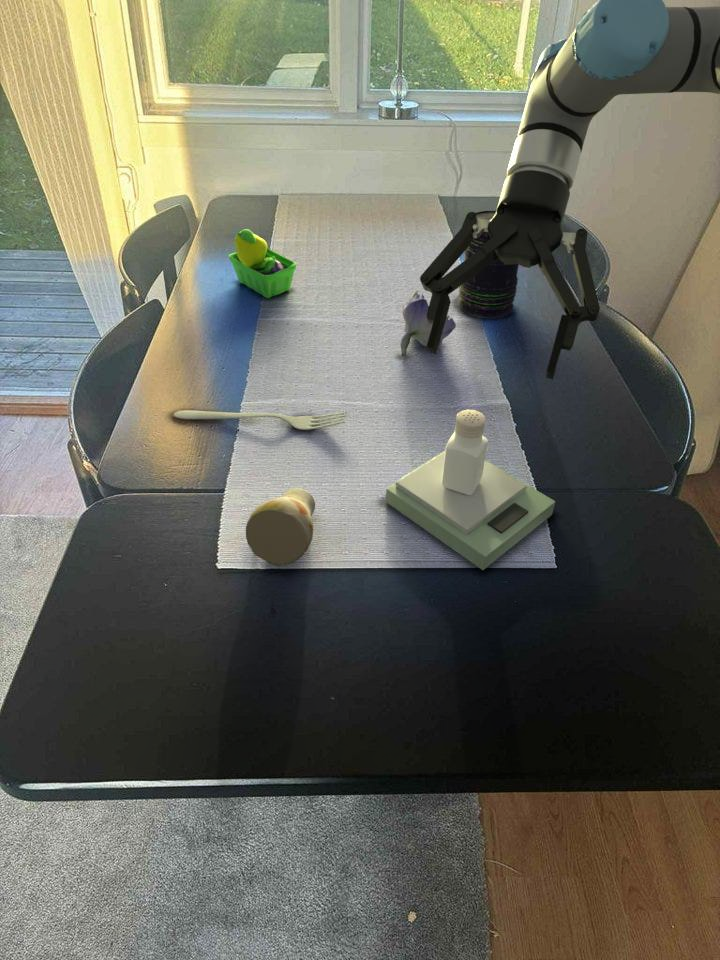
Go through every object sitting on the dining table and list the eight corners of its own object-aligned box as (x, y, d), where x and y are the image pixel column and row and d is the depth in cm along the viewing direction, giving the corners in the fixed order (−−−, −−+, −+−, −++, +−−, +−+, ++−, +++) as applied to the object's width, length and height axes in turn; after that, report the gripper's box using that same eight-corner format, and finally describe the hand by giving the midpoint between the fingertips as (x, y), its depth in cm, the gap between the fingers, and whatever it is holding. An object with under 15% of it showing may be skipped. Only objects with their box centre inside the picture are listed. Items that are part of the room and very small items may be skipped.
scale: (552, 515, 83) (557, 496, 81) (482, 570, 76) (486, 551, 74) (455, 456, 91) (458, 438, 89) (385, 502, 84) (386, 483, 82)
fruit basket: (300, 290, 127) (297, 229, 120) (260, 305, 123) (255, 242, 115) (263, 270, 134) (258, 210, 126) (224, 283, 129) (216, 222, 122)
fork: (177, 408, 99) (175, 397, 97) (348, 420, 97) (348, 409, 96) (170, 421, 96) (168, 410, 95) (345, 434, 95) (345, 423, 93)
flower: (423, 332, 103) (441, 279, 106) (376, 339, 108) (395, 288, 112) (451, 369, 109) (467, 318, 113) (406, 373, 114) (422, 324, 118)
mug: (331, 509, 84) (335, 482, 74) (297, 583, 80) (297, 565, 71) (274, 485, 84) (270, 455, 75) (238, 558, 81) (230, 536, 71)
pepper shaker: (439, 488, 82) (447, 422, 76) (451, 468, 85) (460, 403, 78) (471, 498, 81) (482, 432, 74) (483, 478, 83) (494, 412, 77)
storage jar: (486, 324, 119) (499, 237, 109) (445, 303, 124) (454, 218, 115) (524, 307, 123) (540, 223, 114) (484, 288, 129) (495, 206, 119)
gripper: (647, 216, 80) (599, 394, 79) (437, 186, 87) (391, 350, 86) (657, 182, 73) (605, 377, 72) (428, 152, 79) (378, 331, 78)
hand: (489, 363), depth 79 cm, fingers open, 13 cm apart
